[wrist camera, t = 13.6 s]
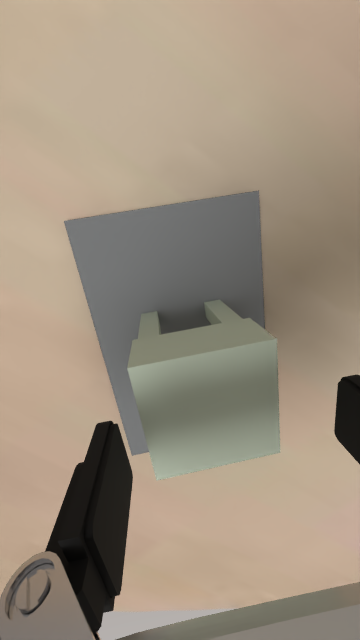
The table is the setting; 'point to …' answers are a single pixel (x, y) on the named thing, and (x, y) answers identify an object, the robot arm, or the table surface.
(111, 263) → the mat
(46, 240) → the table surface
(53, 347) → the table surface
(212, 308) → the pale green stool
